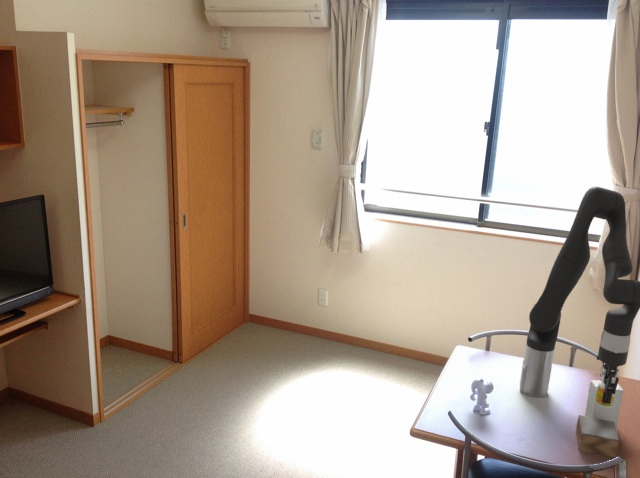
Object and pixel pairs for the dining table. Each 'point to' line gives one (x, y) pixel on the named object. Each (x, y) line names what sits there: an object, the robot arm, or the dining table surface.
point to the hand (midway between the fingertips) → (604, 398)
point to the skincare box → (603, 412)
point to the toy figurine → (481, 395)
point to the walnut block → (597, 436)
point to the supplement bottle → (600, 395)
